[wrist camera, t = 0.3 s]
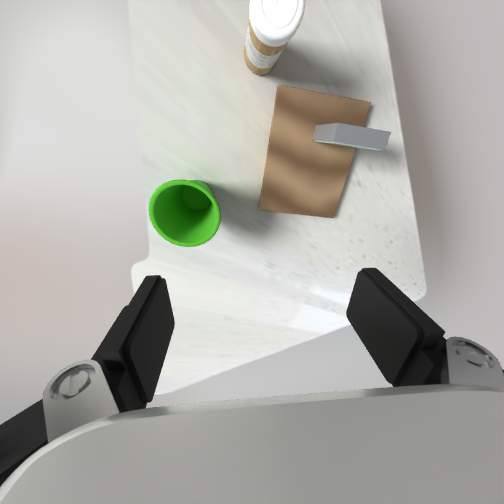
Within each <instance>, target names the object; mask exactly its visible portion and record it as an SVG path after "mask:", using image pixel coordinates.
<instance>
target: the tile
mask: <svg viewBox="0 0 504 504" xmlns="http://www.w3.org/2000/svg"><path fill="white" fill-rule="evenodd" d="M390 134H391V132H388V131H382V130H377V129H371V128H365V127H360V126H354V125H348V124H342V123H332V124H323V125H316V126H315V130H314V134H313V139H312V140H315V142H321V143H327V144H333V145H340V146H346V147H352V148H361V149H371V150H380V151H381V149H382V150H385V147H386V145H387V142H388V139H389V137H390Z"/></svg>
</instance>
